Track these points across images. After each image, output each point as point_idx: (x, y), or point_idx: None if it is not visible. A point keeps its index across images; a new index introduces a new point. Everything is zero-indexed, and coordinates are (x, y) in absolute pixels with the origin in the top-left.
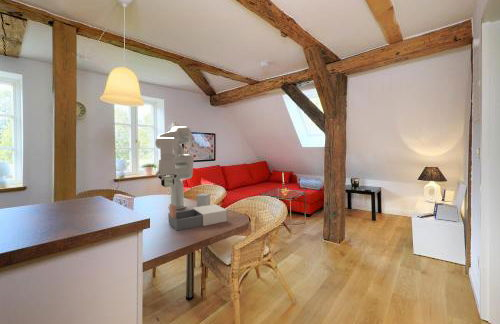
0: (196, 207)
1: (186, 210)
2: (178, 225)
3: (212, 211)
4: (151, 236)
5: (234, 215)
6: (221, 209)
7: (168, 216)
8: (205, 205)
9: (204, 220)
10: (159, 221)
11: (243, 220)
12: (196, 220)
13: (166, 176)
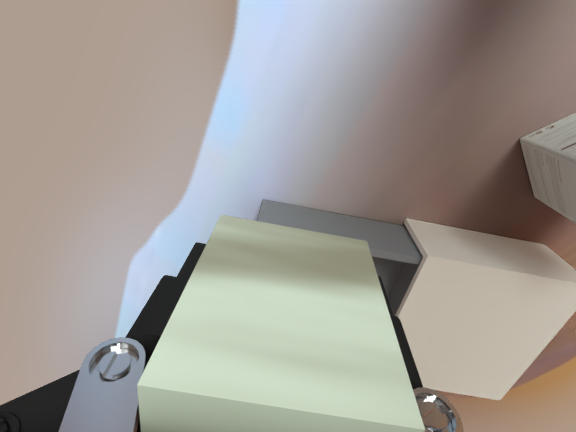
0: (449, 270)
1: (375, 252)
2: None
3: (435, 375)
4: (141, 290)
5: (571, 322)
6: (494, 380)
7: (258, 216)
8: (573, 220)
9: None
10: (234, 132)
11: (516, 381)
12: None
13: (278, 417)
